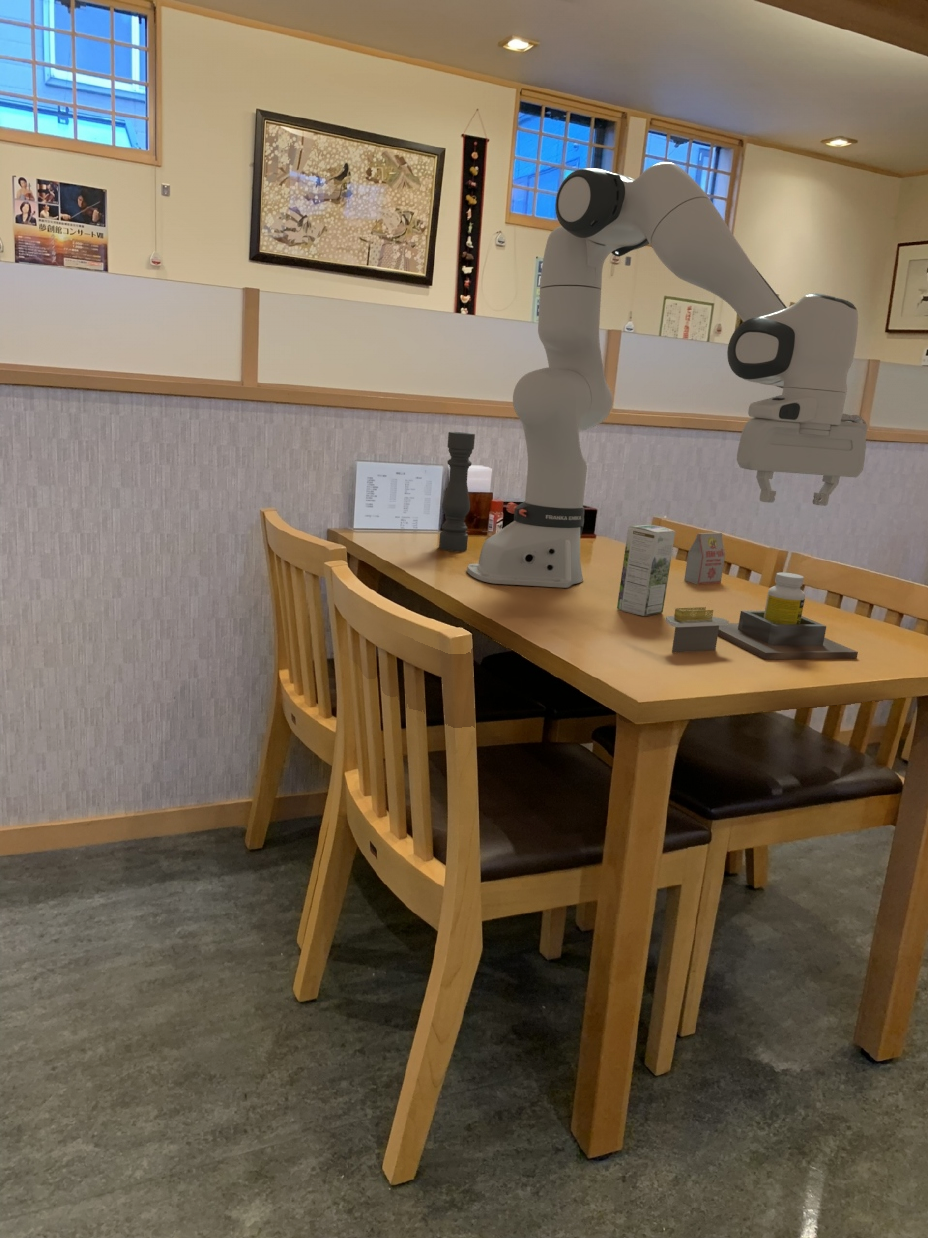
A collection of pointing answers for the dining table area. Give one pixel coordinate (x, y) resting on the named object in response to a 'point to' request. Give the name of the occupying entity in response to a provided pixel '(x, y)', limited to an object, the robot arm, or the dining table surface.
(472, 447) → the dark gray baluster
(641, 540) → the syrup box
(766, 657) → the socket holder
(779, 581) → the supplement bottle
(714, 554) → the tea bag
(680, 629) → the platform
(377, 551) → the dining table surface
